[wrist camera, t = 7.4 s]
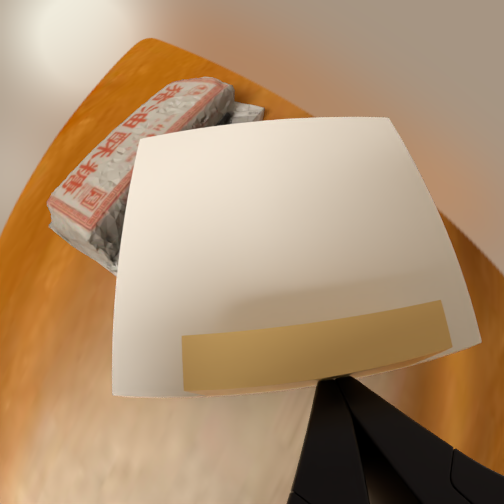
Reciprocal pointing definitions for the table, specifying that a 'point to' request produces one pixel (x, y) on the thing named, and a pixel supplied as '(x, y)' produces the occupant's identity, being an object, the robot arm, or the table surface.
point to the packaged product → (123, 158)
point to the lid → (281, 261)
